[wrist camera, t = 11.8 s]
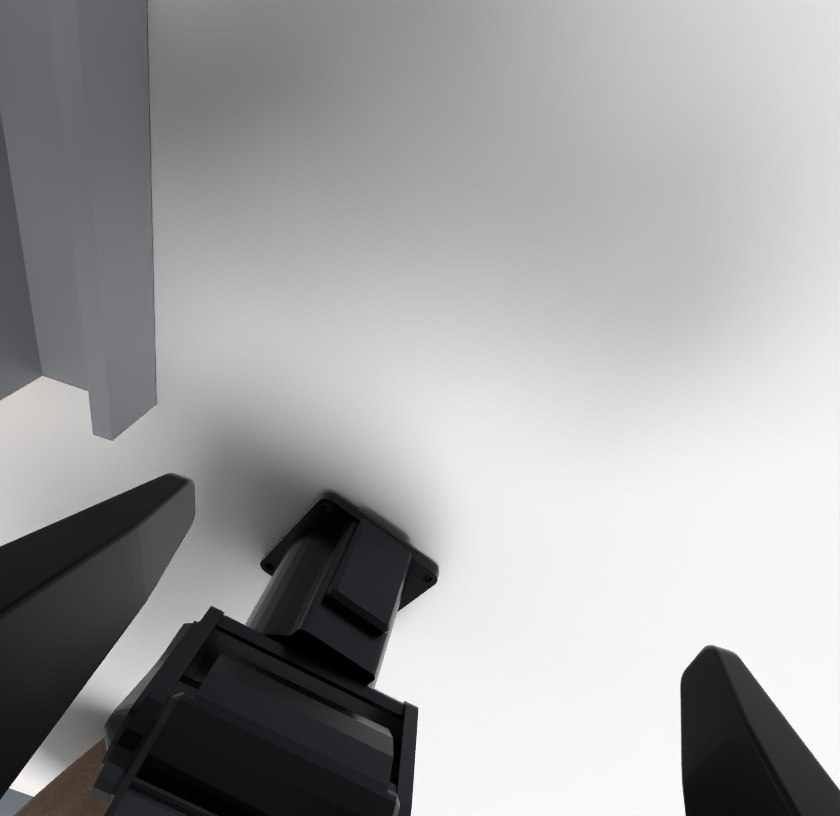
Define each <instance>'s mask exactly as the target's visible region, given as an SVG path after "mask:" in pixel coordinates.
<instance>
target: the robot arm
mask: <svg viewBox="0 0 840 816" xmlns="http://www.w3.org/2000/svg"><path fill="white" fill-rule="evenodd" d="M326 503H328V504H330V505H331V506H329V505H327V504H326ZM194 516H195V485H194V482H193V480H192V479H190V478H187V477H184V476H181V475H178V474H175V473H168V474H165V475H163V476H161V477H158V478H156V479H154V480H151V481H149V482H147V483H145V484H142V485H140V486H138V487H135V488H133V489H131V490H129V491H126V492H124V493H122V494H119V495H117V496H115V497H113V498H110V499H108V500H106V501H103V502H101V503H99V504H97V505H94V506H92V507H90V508H87V509H85V510H83V511H81V512H78V513H76V514H74V515H71V516H69V517H67V518H65V519H62V520H60V521H58V522H55V523H53V524H51V525H49V526H46V527H44V528H42V529H39V530H37V531H35V532H33V533H30V534H28V535H26V536H23V537H21V538H19V539H17V540H14V541H12V542H10V543H7V544H5V545H3V546H1V547H0V799H1V798H2V796H3V795H4V794H5V792H6V791H7V790H8V788H9V787H10V786H11V784H12V783H13V782H14V780H15V779H16V778H17V776H18V775H19V773H20V772H21V771H22V769H23V768H24V767H25V765H26V764H27V763H28V761H29V760H30V759H31V757H32V756H33V755H34V753H35V752H36V750H37V749H38V748H39V746H40V745H41V744H42V742H43V741H44V740H45V738H46V737H47V736H48V734H49V733H50V732H51V730H52V729H53V727H54V726H55V725H56V723H57V722H58V721H59V719H60V718H61V717H62V715H63V714H64V713H65V711H66V710H67V708H68V707H69V706H70V704H71V703H72V702H73V700H74V699H75V698H76V696H77V695H78V694H79V692H80V691H81V690H82V688H83V687H84V685H85V684H86V683H87V681H88V680H89V679H90V677H91V676H92V675H93V673H94V672H95V671H96V669H97V668H98V667H99V665H100V664H101V662H102V661H103V660H104V658H105V657H106V656H107V654H108V653H109V652H110V650H111V649H112V648H113V646H114V645H115V643H116V642H117V641H118V639H119V638H120V637H121V635H122V634H123V633H124V631H125V630H126V629H127V627H128V626H129V625H130V623H131V622H132V620H133V619H134V618H135V616H136V615H137V614H138V612H139V611H140V609H141V608H142V607H143V605H144V604H145V602H146V601H147V599H148V598H149V596H150V594H151V593H152V591H153V590H154V588H155V586H156V585H157V583H158V581H159V579H160V578H161V576H162V574H163V573H164V571H165V569H166V567H167V566H168V564H169V562H170V561H171V559H172V557H173V555H174V554H175V552H176V550H177V549H178V547H179V545H180V544H181V542H182V540H183V538H184V537H185V535H186V533H187V532H188V530H189V528H190V526H191V524H192V522H193V520H194ZM260 565H261V568H262V569H263V570H264V571H265V572H267V573H268V574H270V575H271V576H272V578H271V580H270V581H269V583H268V585H267V587H266V588H265V590H264V592H263V594H262V596H261V597H260V599H259V601H258V603H257V604H256V606H255V608H254V610H253V611H252V613H251V615H250V617H249V618H248V620H247V622H246V624H245V625H244V624H241V623H239V622H237V621H235V620H233V619H231V618H229V617H227V616H225V615H224V612H223V611H221V610H219V609H217V608H215V607H213V606H211V607H210V608H209V610H208V611H207V613H206V614H205V615H204V617H203V618H202V619H201V621H199V622H196V621H194V623H187V624H183V626H182V627H181V629H180V630H179V632H178V633H177V635H176V636H175V638H174V639H173V640H172V642H171V643H170V645H169V646H168V648H167V649H166V651H165V652H164V654H163V655H162V656H161V658H160V659H159V660H158V662H157V663H156V664H155V665H154V667H153V668H152V669H151V670H150V671H149V672H148V673H147V675H146V676H145V677H144V678H143V679H142V680H141V681H140V682H139V684H138V685H137V686H136V687H135V688H134V689H133V690H132V691H131V692H130V694H129V695H128V696H127V697H126V698H125V699H124V700H123V701H122V703H121V704H120V705H119V706H118V707H117V708H116V709H115V711H114V712H113V713H112V715H111V716H110V718H109V719H108V721H107V723H106V725H105V727H104V735H105V742H106V749H107V752H106V754H105V756H104V758H103V760H102V762H101V765H100V767H101V768H103V769H102V770H101V772H100V774H99V776H98V778H97V780H96V782H95V784H94V786H93V789H92V791H91V794H90V798H92V799H94V800H96V801H98V802H101V803H103V804H105V805H109V807H108V809H107V811H106V813H105V815H104V816H411V808H412V794H413V779H414V765H415V750H416V735H417V721H418V707H416V706H414V705H412V704H410V703H408V702H406V701H405V702H404V703H402V702H400V701H398V700H396V699H394V698H392V697H390V696H388V695H386V694H384V693H382V692H380V691H378V690H376V689H374V688H375V685H376V681H377V678H378V675H379V671H380V668H381V665H382V661H383V658H384V655H385V651H386V648H387V644H388V641H389V638H390V634H391V631H392V628H393V624H394V621H395V618H396V614H397V612H398V611H399V610H401V609H402V608H403V607H405V606H406V605H408V604H409V603H410V602H412V601H413V600H414V599H416V598H417V597H418V596H420V595H421V594H422V593H424V592H425V591H426V590H428V589H429V588H431V587H432V586H433V585H435V584H436V582H437V580H438V575H439V571H438V569H437V568H436V567H435V566H434V565H432V564H431V563H430V562H428V561H427V560H426V559H424V558H423V557H421V556H420V555H419V554H417V553H416V552H414V551H413V550H412V549H410V548H409V547H407V546H406V545H405V544H403V543H402V542H400V541H399V540H398V539H396V538H395V537H393V536H392V535H391V534H389V533H388V532H386V531H385V530H384V529H382V528H381V527H380V526H378V525H377V524H375V523H374V522H373V521H371V520H370V519H368V518H367V517H366V516H364V515H363V514H361V513H360V512H359V511H357V510H356V509H354V508H353V507H352V506H350V505H349V504H347V503H346V502H345V501H343V500H342V499H340V498H339V497H338V496H336V495H334V494H332V493H324V494H322V495H321V496H320V497H319V498H318V499H317V500H316V501H315V502H314V504H313V505H312V506H311V507H310V508H309V509H308V510H307V511H306V512H305V513H304V514H303V515H302V516H301V517H300V518H299V520H298V521H297V522H296V523H295V524H294V525H293V526H292V527H291V528H290V529H289V530H288V531H287V532H286V533H285V534H284V535H283V537H282V538H281V539H280V540H279V541H278V542H277V543H276V544H275V545H274V546H273V547H272V548H271V549H270V550H269V551H268V552H267V554H266V555H265V556H264V558H263V559H262V561H261V563H260ZM426 574H428V575H426ZM680 693H681V767H682V785H683V796H684V805H685V813H686V816H840V790H839V788H838V787H837V786H836V784H835V783H834V782H833V780H832V779H831V778H830V777H829V775H828V774H827V773H826V771H825V770H824V769H823V767H822V766H821V765H820V763H819V762H818V761H817V759H816V758H815V757H814V755H813V754H812V753H811V751H810V750H809V749H808V747H807V746H806V745H805V744H804V742H803V741H802V740H801V738H800V737H799V736H798V734H797V733H796V732H795V730H794V729H793V728H792V726H791V725H790V724H789V722H788V721H787V720H786V718H785V717H784V716H783V714H782V713H781V712H780V711H779V709H778V708H777V707H776V705H775V704H774V703H773V701H772V700H771V699H770V697H769V696H768V695H767V693H766V692H765V691H764V689H763V688H762V687H761V685H760V684H759V683H758V682H757V680H756V679H755V678H754V676H753V675H752V674H751V672H750V671H749V670H748V668H747V667H746V666H745V664H744V663H743V662H742V660H741V659H740V658H739V657H738V656H737V655H736V654H735V653H734V652H732V651H729V650H726V649H723V648H720V647H717V646H714V645H708V646H706V647H704V648H703V649H702V650H701V652H700V653H699V654H698V655H697V656H696V658H695V659H694V660H693V661H692V662H691V663H690V665H689V666H688V667H687V668H686V669H685V671H684V673H683V675H682V678H681V685H680Z"/></svg>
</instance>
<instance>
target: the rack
mask: <svg viewBox="0 0 840 816" xmlns="http://www.w3.org/2000/svg"><path fill="white" fill-rule="evenodd" d="M41 376H45V377H48V378H51V379H54V380H57V381H60V382H63V383H66V384H69V385H72V386H75V387H78V388H81V389H83V390H86V391H89V400H90V409H91V419H92V428H93V434H94V435H97V436H100V437H103V438H106V439H109V440H112V441H113V440H114V439H115V438H116V437H117V436H119V435H120V434H121V433H122V432H123V431H125V430H126V429H127V428H128V427H129V426H131V425H132V424H133V423H134V422H135V421H137V420H138V419H139V418H140V417H142V416H143V415H144V414H145V413H146V412H148V411H149V410H150V409H151V408H152V407H154V406H155V405H156V371H155V329H154V288H153V247H152V205H151V164H150V122H149V81H148V39H147V0H0V400H2V399H4V398H5V397H7V396H9V395H10V394H12V393H14V392H15V391H17V390H19V389H20V388H22V387H24V386H26V385H27V384H29V383H31V382H32V381H34V380H36V379H37V378H39V377H41Z"/></svg>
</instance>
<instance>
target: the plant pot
mask: <svg viewBox="0 0 840 816" xmlns="http://www.w3.org/2000/svg"><path fill="white" fill-rule="evenodd" d="M106 752H107V749H106V742H105V738H103V739H102V740H101V741H100V742H98V743H97V744H96V745H95V746H93V747H92V748H91V749H90V750H89V751H87V752H86V753H85V754H84V755H82V756H81V757H80V758H79V759H78V760H76V761H75V762H74V763H73V764H71V765H70V766H69V767H68V768H67V769H65V770H64V771H63V772H62V773H61V774H60V775H59V776H57V777H56V778H55V779H54V780H53V781H52V782H50V783H49V784H48V785H47V786H46V787H45V788H44V789H42V790H41V791H40V792H39V793H38V794H37V795H36V796H35V797H33V798H32V799H31V800H30V801H29V802H28V803H27V804H26V805H25V806H24V807H23V808H21V809H20V811H18V812H17V813H16V814H15V815H14V816H104V815H105V813H106V811H107V809H108V807H109V805H105V804H103V803H101V802H98V801H96V800H94V799H92V798H90V794H91V791H92V789H93V786H94V784H95V782H96V780H97V778H98V776H99V774H100V772H101V770H102V769H103V768H101V767H100V765H101V762H102V760H103V758H104V756H105V754H106Z"/></svg>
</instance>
